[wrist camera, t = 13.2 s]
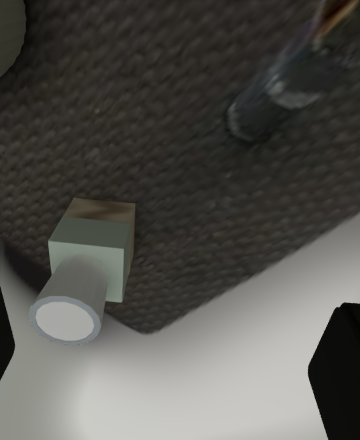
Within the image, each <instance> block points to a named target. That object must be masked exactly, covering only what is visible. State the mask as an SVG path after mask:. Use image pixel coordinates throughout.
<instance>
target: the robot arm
mask: <svg viewBox="0 0 360 440" xmlns="http://www.w3.org/2000/svg"><path fill="white" fill-rule="evenodd" d="M14 349H15V342H14V338H13V334H12V330H11V326H10V322H9V319H8V314H7V311H6V307H5V303H4V299H3V295H2V291H1V287H0V380H1V378H2V376H3V374H4V372H5V370H6V368H7V366H8V364H9V362H10V360H11V358H12V356H13V353H14ZM308 377H309V381H310V384H311V387H312V390H313V393H314V396H315V399H316V402H317V406H318V409H319V412H320V415H321V418H322V421H323V424H324V428H325V430H326V434H327V437H328V440H360V304H357V303H343V304H342V305H341V306H340V307H337V308H335V310H334V312H333V314H332V316H331V318H330V320H329V322H328V325H327V327H326V329H325V331H324V333H323V335H322V338H321V340H320V342H319V344H318V346H317V349H316V351H315V353H314V355H313V357H312V359H311V361H310V364H309V366H308Z"/></svg>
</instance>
